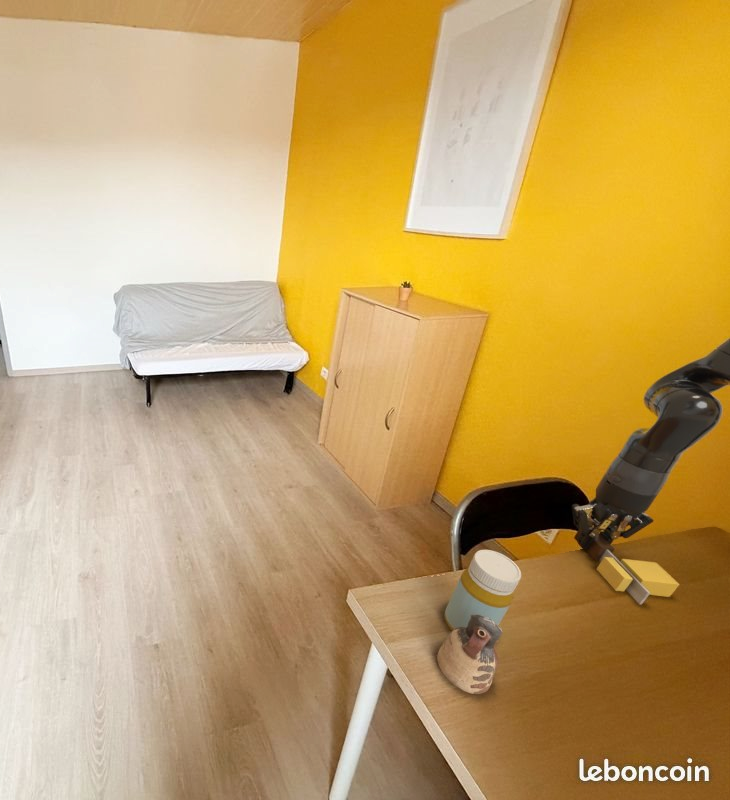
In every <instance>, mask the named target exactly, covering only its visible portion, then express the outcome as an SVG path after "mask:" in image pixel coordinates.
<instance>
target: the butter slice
mask: <svg viewBox="0 0 730 800" xmlns="http://www.w3.org/2000/svg"><path fill="white" fill-rule="evenodd" d="M596 570H597V572H598V573H599V574H600V575H601V576H602V577H603V579H605V581H606V582H607V583H608V584H609V585H610V586H611V588H612V589H614V591H616V592H625V591H626V588H627V587H628V585H629V584H630V583H631V581H632V580H633V578H632V577H631V576H630V575H629V574H628V573H627V572H626V571H625V570H624V569H623V568H622V567H621V566H620V565H619V564H618V563H617V562H616V561H615V560H614V559H613V558H610V557H604V558H603V560H602V561H601V562H599V565H598V566H597V567H596Z"/></svg>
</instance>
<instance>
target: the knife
mask: <svg viewBox="0 0 730 800" xmlns="http://www.w3.org/2000/svg"><path fill="white" fill-rule="evenodd" d="M593 527H594V526H592V527H591V528H593ZM580 534H581V531H580V530H579V529H578V530H577V532H576V533H575V535H574V537H573V539H574V540H575V541H576V542H577V539H578V537H579V535H580ZM584 551H585V552H586V553H587V554H588V555H589V556H590V558H591V559H592V560H593V561H599V563H601V561H602V560H603V558H604V557H610V558H613V559H614V560H615V561H616V562H617V563H618V564H619V565H620V566H621V567H622V568H623V569H624V570H625V571H626V572H627V573H628V574H629V575H630V576H631V577H632V578H633V580H632V581H631V583H630V584H629V585H628V587H627V588H626V589H625V591H626V592H627V593H628V594H629V595H630V596H631V598H633V599H634V600H635V601H636V602H637V604H638V605H643V604H644V602H645V601H646V600H647V598H648V597H649V596H650V595H649V594H650V592H649V591H648V590H647V589H646V588H645V587H644V586H643V585H642V584H641V583H640V582H639V581H638V580H637V579H636V578H635V577H634V576H633V575H632V574H631V573H630V572H629V570H628V569H627V568H626V567H625V566H624V565H623V564H622V563H621V562H620V561H621V560H619V559H618V558H617V557H616V556H615V555H614V554H613V552H614V551H615V547H614V546H613V545H612V544H611V545H610V544H609V543H608V542H607V541H606V540H605V539H604V538H603V537H602V536H601V535H600V532H599V533H598V535H597V536H596V539H595V540H594V542H593V543H592V545H591V546H590V548H589V549H588V550H584Z"/></svg>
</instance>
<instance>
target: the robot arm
mask: <svg viewBox="0 0 730 800" xmlns="http://www.w3.org/2000/svg"><path fill="white" fill-rule="evenodd" d="M729 386H730V336H729V337H728V338H727V339H724V341H723V342H721V343H720V344H719V345H717V346H715V348H713V349H711V351H710V352H708V353H707V354H706V355H704V356H702V357H699V358H698V359H695V360H693V361H691V362H688V363H687V364H685V365H683V366H680V367H679V368H677V369H675V370H673V371H670V372H668V373H667V374H665V375H663V376H661V377H660V378H658V379H657V380H655V381H654V382H652V384H651V385H650V386H649V387H648V388H647V389H646V391H645V392H644V395H643V398H642V399H643V400H642V401H643V404H644V407H646V409H647V410H648V411H649V412H650V413H651V414H653V415H654V416H655V417H656V418H657V419H656V421H655V422H654V423H653V425H652V426H651V427H640V428H637V429H635V430H633V431H632V432H631V433H630V435H629V436H628V437H627V438H626V441H625V442H624V443H623V446H622V448H620V450H619V452H618V454H617V456H615V457H614V459H613V460H612V461H611V463H610V464H609V465H608V467H607V469H606V471H605V473H604V474H603V476H602V478H601V479H600V481H599V483H598V485H597V486H596V488H595V497H594V498H593V499H591V500H590V501H589V502H588V504H585V505H580V504H578V503H574V504H572V505H571V513H572V520H573V526H575V527H576V528H577V529H578V530H580V531H581V534H580V535H579V537H578V539H577V541H576V543H577V545H578V546H579V547H580V548H581V549H582V550H584V551H585V550H588V549H589V548H590V546H591V545H592V543H593V542H594V540H595V539H596V536H597V535H598V533H600V535H601V536H602V537H603V538H604V539H605V540H606V541H607V542H608V543H609V544H610V545H611V546H612V543H613V542H614V541H615V540H618V539H619V538H623V539H628V538H630V537H632V536H634V535H635V534H637V533H638V532H640V531H641V530H643V529H644V528H646V527H647V526H649V525H650V524H652V523H654V519H653V518H652V517H651V516H650V515H649V514H647V513H646V511H648V510H649V508H650V507H651V505H652V504H653V503H654V501H655V499H656V498H657V497H658V495H659V494H660V492H661V491H662V489H663V487H664V486H665V485H666V483H667V482H668V479H669V477H670V474H671V472H672V471H673V469H674V467H675V466H676V465H677V463H678V462H679V461H680V459H681V457H682V456H683V454H684V453H685V452H686V451H688V450H689V449H691V448H692V447H693V446H694V445H696V444H697V443H699V442H700V441H701V440H703V439H704V438H705V437H706V436H707V435H708V434H710V433H711V432H712V431H713V430H714V429H715V428H716V427H717V426H718V424H719V423H720V421H721V420H722V419H721V418H722V416H723V412H724V408H723V404H722V402H721V401H720V400H719V399H718V398H717V396H714V395H713V393H715V392H717V391H719V390H722V389H723V388H726V387H729ZM629 526H630V527H629ZM591 527H593V528H591ZM627 527H629V528H628V529H627Z"/></svg>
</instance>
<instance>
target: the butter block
mask: <svg viewBox="0 0 730 800" xmlns="http://www.w3.org/2000/svg"><path fill="white" fill-rule="evenodd" d="M619 561H620V562H621V563H622V564H623V565H624V566H625V567H626V568H627V569H628V570H629V572H630V573H631V574H632V575H633V576H634V577H635V578H636V579H637V580H638V581H639V582H640V583H641V584H642V585H643V586H644V587H645V588H646V589H647V590H648V591H649V592H650V594H649V596H650V595H651V596H659V597H665V598H666V597H667V598H670V597H671V596H672V595H673V594H674V592H675V591H676V590H677V588H678V587H679V586H680V583H679V582H678V581H677V580H676V579H674V577H673V576H671V575H670V573H668V572H667V571H666V570H665V569H664V568H663V567H662V566H661V565H660V564H659V563H658V562H654V561H646V560H638V559H637V560H636V559H628V558H621V559H620V560H619Z"/></svg>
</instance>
